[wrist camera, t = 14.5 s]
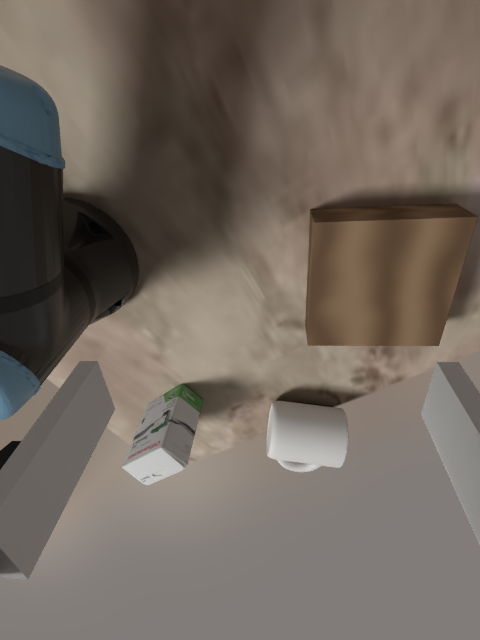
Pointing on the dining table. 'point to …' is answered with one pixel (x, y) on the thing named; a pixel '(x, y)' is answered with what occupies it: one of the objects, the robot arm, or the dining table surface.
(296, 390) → the dining table surface
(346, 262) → the walnut block
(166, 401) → the ink box
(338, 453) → the mug
